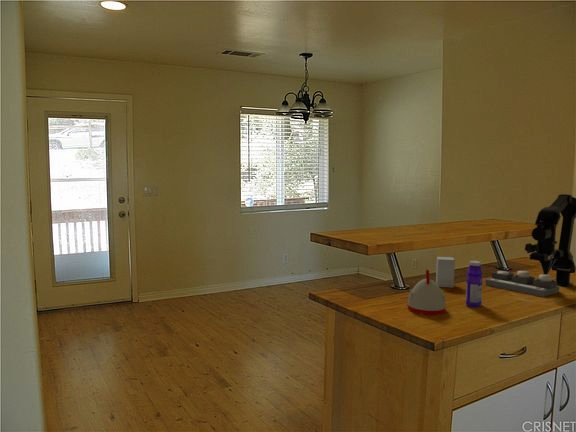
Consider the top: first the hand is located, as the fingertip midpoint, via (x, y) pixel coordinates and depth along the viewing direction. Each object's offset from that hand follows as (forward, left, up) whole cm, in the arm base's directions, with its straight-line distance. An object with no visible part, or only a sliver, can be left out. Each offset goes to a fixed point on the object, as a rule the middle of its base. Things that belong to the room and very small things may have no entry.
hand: (545, 274), depth 211 cm
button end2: (0, 0, -3) cm, 3 cm away
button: (0, -19, -5) cm, 20 cm away
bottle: (+43, -7, -8) cm, 44 cm away
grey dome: (+62, -15, -8) cm, 65 cm away
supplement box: (+24, -33, -8) cm, 42 cm away
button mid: (0, -9, -3) cm, 10 cm away
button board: (+2, -9, -8) cm, 12 cm away
